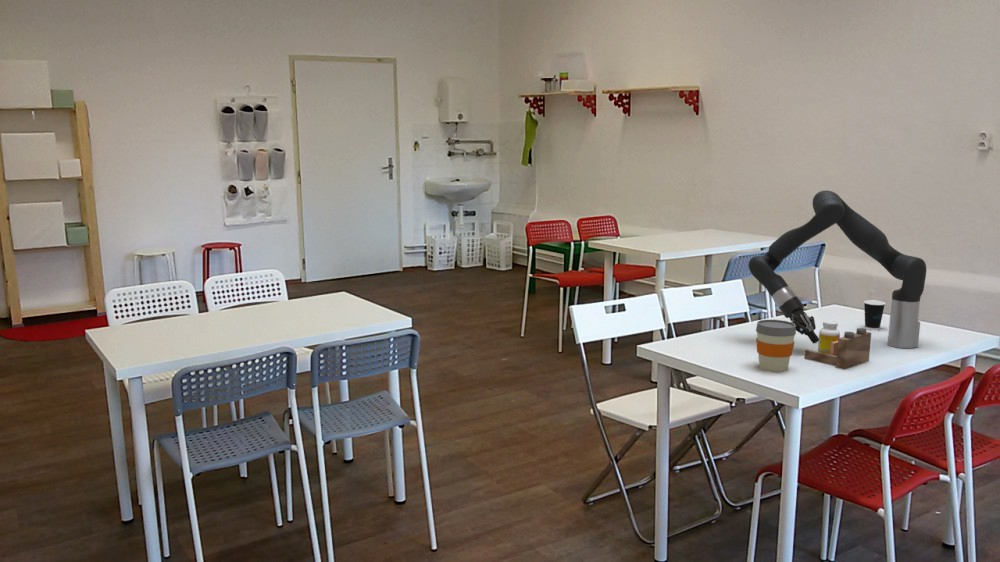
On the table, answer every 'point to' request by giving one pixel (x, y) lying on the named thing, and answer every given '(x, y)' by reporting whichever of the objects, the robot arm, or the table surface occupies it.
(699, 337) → the table surface
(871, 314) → the dixie cup
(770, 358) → the reusable coffee cup
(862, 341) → the cradle
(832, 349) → the plate
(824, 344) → the supplement bottle
